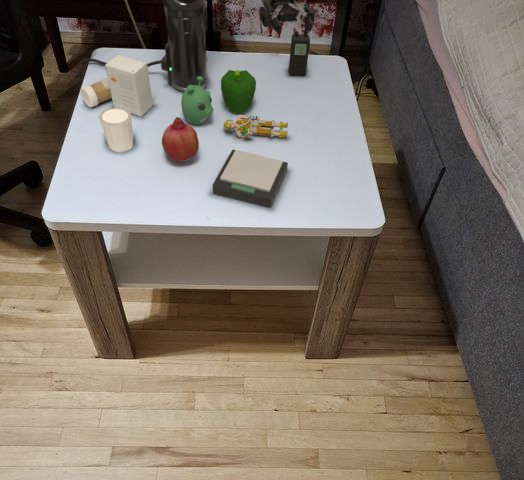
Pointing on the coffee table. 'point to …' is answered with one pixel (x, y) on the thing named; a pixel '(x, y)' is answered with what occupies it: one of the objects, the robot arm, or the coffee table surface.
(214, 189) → the scale
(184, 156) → the fruit
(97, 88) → the sprinkles bottle
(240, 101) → the bell pepper
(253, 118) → the toy
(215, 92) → the coffee table surface
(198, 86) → the alien toy
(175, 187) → the coffee table surface
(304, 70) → the walkie-talkie
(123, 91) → the small box
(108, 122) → the white candle
